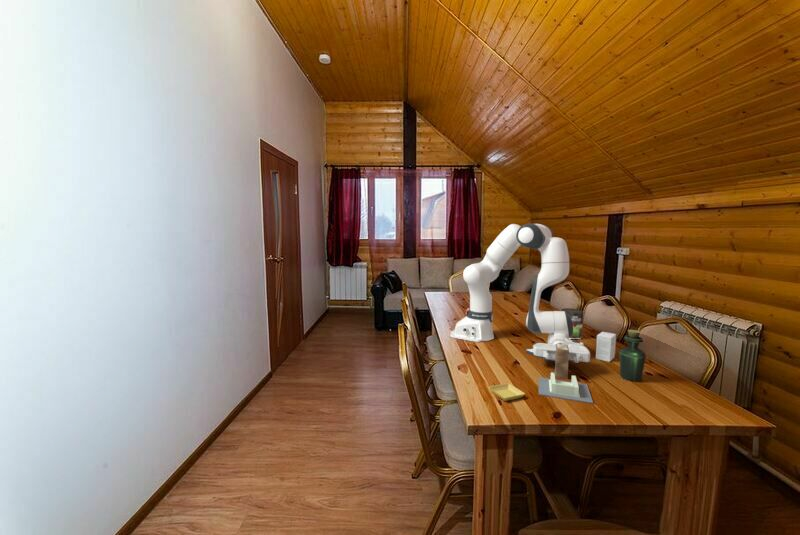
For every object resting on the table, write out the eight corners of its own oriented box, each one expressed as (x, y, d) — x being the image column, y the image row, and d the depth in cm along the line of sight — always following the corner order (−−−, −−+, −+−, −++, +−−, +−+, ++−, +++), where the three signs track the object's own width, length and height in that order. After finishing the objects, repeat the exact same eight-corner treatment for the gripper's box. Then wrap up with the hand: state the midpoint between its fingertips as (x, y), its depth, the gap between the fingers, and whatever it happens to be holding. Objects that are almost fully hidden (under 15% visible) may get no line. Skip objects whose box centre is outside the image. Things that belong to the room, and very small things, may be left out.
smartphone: (568, 361, 144) (536, 349, 158) (568, 357, 144) (536, 346, 157) (555, 365, 139) (524, 352, 153) (555, 361, 139) (524, 349, 153)
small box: (600, 354, 151) (601, 331, 150) (615, 357, 147) (616, 333, 146) (595, 358, 145) (596, 335, 144) (609, 362, 141) (611, 337, 140)
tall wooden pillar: (555, 377, 126) (557, 348, 125) (554, 371, 131) (556, 343, 130) (567, 379, 124) (569, 349, 123) (566, 373, 130) (567, 344, 129)
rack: (549, 392, 113) (550, 383, 113) (548, 380, 122) (549, 372, 122) (579, 397, 110) (580, 388, 109) (576, 384, 119) (577, 376, 119)
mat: (538, 394, 112) (538, 393, 112) (538, 378, 125) (538, 377, 125) (593, 403, 107) (593, 402, 106) (586, 385, 119) (587, 384, 119)
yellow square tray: (508, 388, 118) (508, 382, 118) (525, 399, 110) (526, 393, 110) (487, 392, 115) (488, 386, 115) (503, 404, 107) (504, 398, 107)
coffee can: (585, 340, 170) (586, 313, 168) (563, 339, 171) (564, 312, 170) (577, 334, 180) (579, 308, 178) (557, 333, 182) (558, 307, 180)
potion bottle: (638, 384, 120) (641, 335, 118) (613, 376, 127) (616, 330, 125) (648, 379, 124) (651, 332, 122) (623, 371, 131) (627, 326, 129)
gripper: (533, 337, 143) (532, 347, 130) (587, 343, 136) (592, 354, 123) (532, 351, 144) (532, 363, 131) (586, 358, 136) (591, 371, 123)
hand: (562, 359), depth 127 cm, fingers open, 8 cm apart
